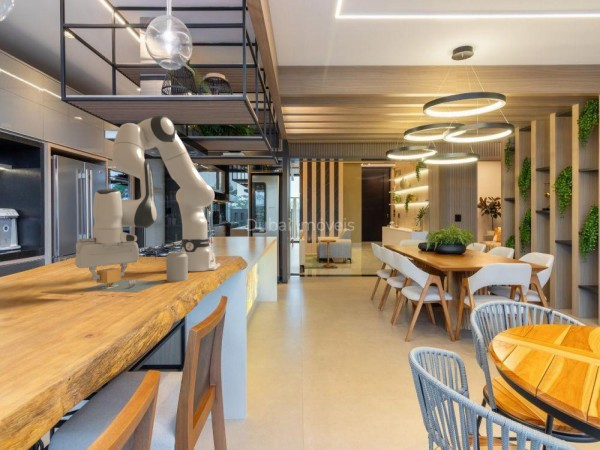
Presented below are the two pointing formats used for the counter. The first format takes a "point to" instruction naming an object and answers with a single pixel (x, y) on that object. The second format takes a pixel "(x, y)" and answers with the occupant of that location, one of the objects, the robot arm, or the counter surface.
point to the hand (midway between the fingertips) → (108, 278)
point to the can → (177, 266)
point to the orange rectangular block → (109, 275)
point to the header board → (125, 286)
